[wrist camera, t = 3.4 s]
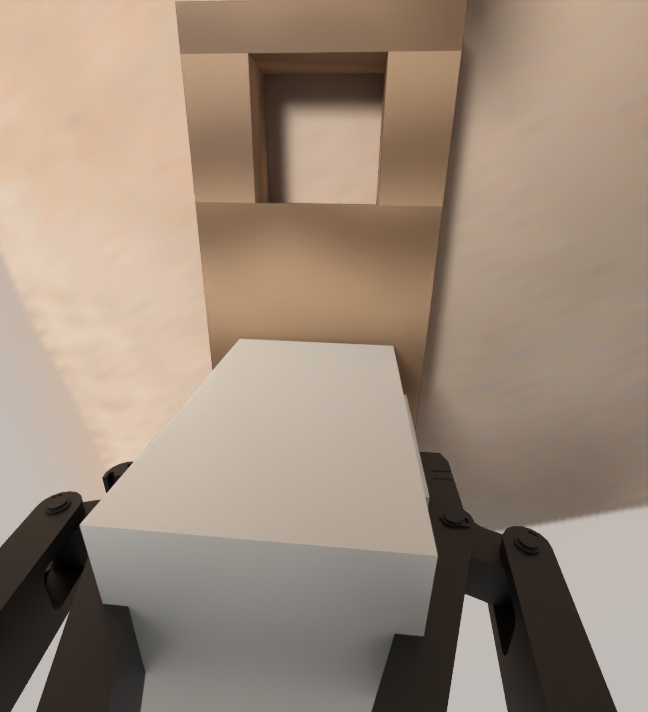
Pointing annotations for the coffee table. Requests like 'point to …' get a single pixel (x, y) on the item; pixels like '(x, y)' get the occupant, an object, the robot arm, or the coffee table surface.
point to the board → (310, 220)
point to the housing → (272, 534)
